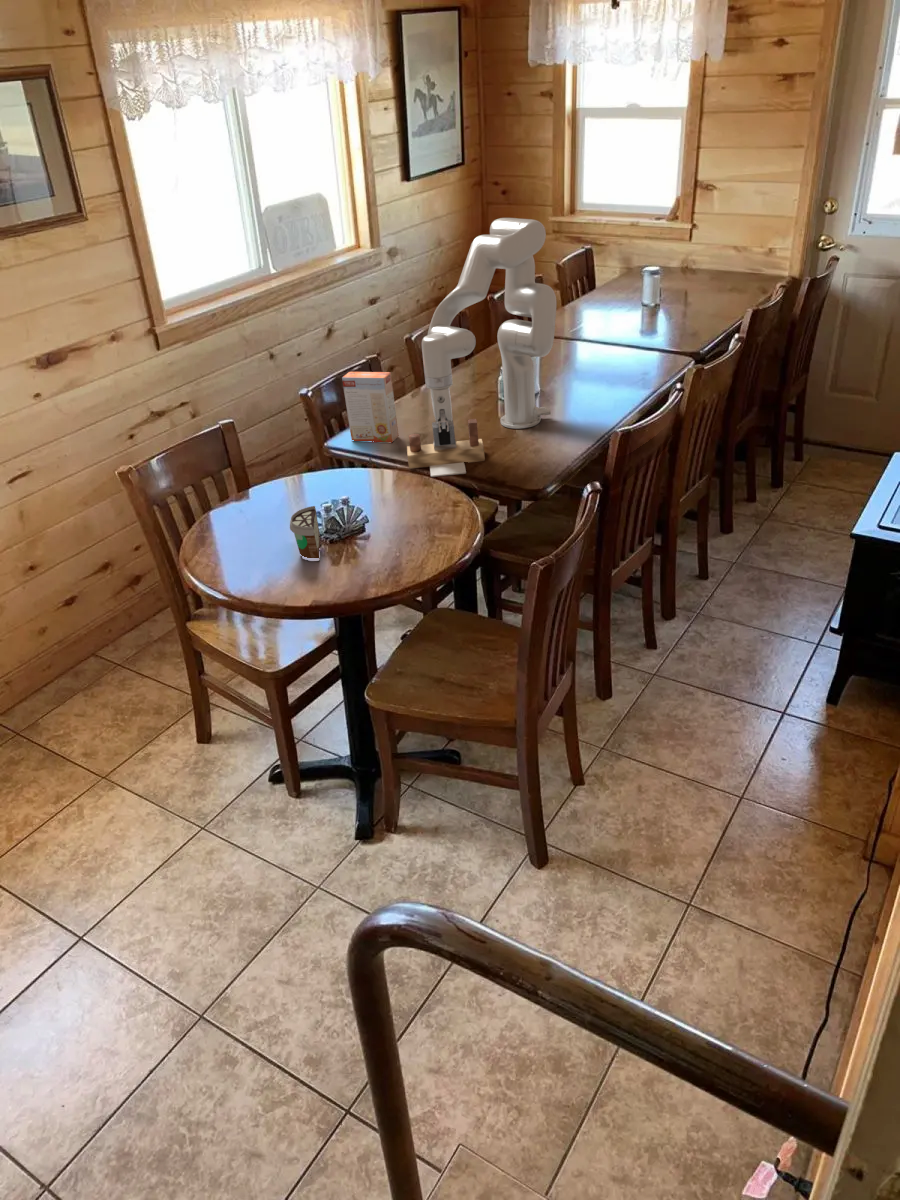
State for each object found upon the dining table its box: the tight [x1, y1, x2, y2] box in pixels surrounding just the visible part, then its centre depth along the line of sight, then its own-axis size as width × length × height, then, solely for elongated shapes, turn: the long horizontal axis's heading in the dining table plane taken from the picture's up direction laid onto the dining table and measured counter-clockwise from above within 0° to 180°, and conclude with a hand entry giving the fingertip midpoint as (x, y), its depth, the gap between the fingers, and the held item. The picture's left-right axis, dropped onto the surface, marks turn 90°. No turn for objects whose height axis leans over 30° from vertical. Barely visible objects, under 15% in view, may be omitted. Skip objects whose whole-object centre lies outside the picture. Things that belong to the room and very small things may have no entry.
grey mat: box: [429, 462, 467, 478], centre depth 256 cm, size 10×7×1 cm
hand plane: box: [406, 418, 486, 469], centre depth 259 cm, size 22×7×11 cm, turn 94°
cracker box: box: [341, 371, 399, 444], centre depth 275 cm, size 14×6×21 cm, turn 71°
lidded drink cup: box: [289, 505, 321, 558], centre depth 218 cm, size 12×6×10 cm, turn 5°
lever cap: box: [431, 420, 456, 446], centre depth 258 cm, size 6×4×6 cm
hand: (444, 438), depth 259 cm, fingers open, 9 cm apart
